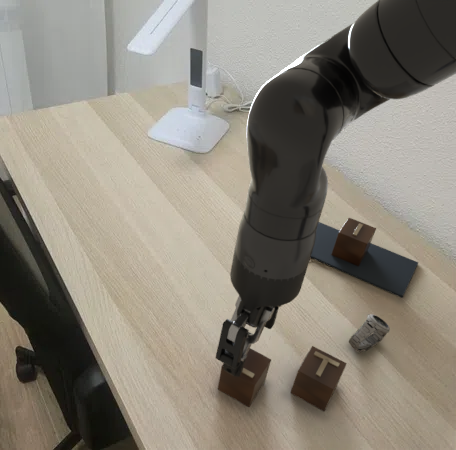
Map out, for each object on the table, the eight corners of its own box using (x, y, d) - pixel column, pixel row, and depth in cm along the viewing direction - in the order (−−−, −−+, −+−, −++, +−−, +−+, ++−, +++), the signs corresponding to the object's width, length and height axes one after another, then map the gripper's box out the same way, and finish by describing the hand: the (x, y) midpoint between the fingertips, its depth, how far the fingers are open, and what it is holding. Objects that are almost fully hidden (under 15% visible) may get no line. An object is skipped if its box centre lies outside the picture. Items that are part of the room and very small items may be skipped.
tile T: (337, 385, 72) (347, 362, 69) (324, 411, 69) (334, 388, 66) (304, 368, 74) (312, 344, 71) (290, 392, 71) (298, 369, 68)
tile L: (265, 381, 72) (271, 358, 69) (249, 407, 69) (255, 384, 66) (234, 364, 74) (239, 340, 71) (217, 389, 71) (221, 365, 68)
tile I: (367, 250, 91) (376, 227, 88) (358, 266, 89) (367, 242, 85) (341, 239, 93) (348, 216, 90) (331, 254, 90) (338, 231, 87)
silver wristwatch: (388, 344, 78) (400, 321, 74) (357, 362, 75) (367, 339, 72) (370, 326, 80) (380, 304, 77) (338, 343, 77) (347, 320, 74)
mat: (417, 264, 90) (418, 262, 90) (402, 297, 84) (403, 296, 84) (303, 217, 98) (303, 215, 98) (282, 245, 92) (282, 243, 92)
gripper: (276, 311, 50) (249, 406, 61) (333, 227, 59) (301, 323, 70) (205, 275, 53) (191, 372, 64) (269, 200, 62) (248, 296, 73)
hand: (248, 346), depth 67 cm, fingers open, 8 cm apart
